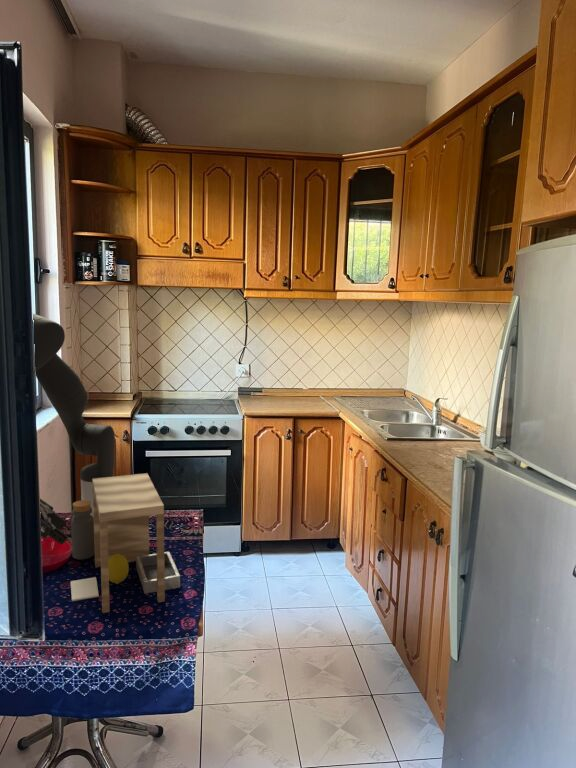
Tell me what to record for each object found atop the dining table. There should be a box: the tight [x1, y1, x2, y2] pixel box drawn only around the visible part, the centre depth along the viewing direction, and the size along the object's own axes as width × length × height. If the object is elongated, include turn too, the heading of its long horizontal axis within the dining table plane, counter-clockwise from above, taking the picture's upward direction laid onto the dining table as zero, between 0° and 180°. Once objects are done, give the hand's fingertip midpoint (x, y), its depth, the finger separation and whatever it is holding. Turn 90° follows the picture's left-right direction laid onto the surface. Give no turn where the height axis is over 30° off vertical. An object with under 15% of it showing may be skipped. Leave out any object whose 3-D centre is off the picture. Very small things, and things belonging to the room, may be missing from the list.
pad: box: [70, 576, 100, 602], centre depth 135 cm, size 9×6×1 cm, turn 23°
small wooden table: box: [92, 472, 166, 614], centre depth 137 cm, size 24×14×24 cm, turn 23°
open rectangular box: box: [135, 551, 181, 595], centre depth 142 cm, size 14×9×3 cm, turn 23°
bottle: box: [70, 500, 95, 560], centre depth 151 cm, size 6×6×15 cm
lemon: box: [108, 554, 130, 585], centre depth 137 cm, size 6×6×8 cm
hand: (64, 533), depth 131 cm, fingers open, 8 cm apart
